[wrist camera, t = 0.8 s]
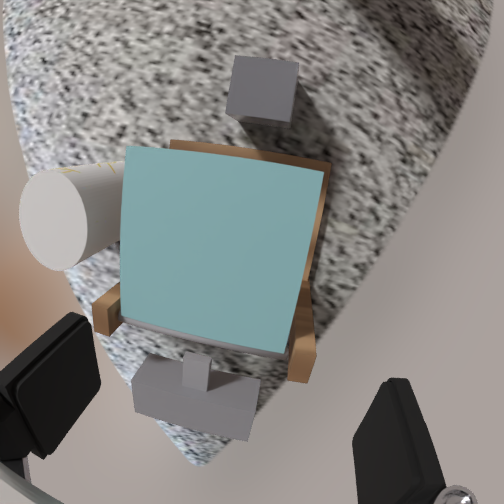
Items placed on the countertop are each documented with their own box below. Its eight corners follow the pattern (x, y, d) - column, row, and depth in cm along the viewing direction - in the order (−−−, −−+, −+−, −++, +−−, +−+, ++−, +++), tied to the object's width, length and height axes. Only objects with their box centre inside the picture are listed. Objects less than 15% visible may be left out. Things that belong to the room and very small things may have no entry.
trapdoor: (143, 146, 20) (114, 145, 17) (323, 171, 19) (331, 174, 16) (139, 380, 27) (122, 406, 23) (267, 412, 26) (262, 444, 22)
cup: (136, 148, 30) (63, 150, 19) (165, 217, 32) (104, 250, 20) (83, 181, 32) (9, 198, 20) (110, 244, 34) (43, 282, 22)
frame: (171, 139, 29) (94, 133, 16) (332, 163, 28) (364, 168, 15) (159, 284, 34) (96, 349, 21) (300, 313, 33) (300, 401, 20)
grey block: (246, 73, 27) (235, 55, 21) (298, 80, 26) (298, 62, 20) (238, 121, 28) (225, 113, 22) (290, 129, 28) (289, 122, 22)
